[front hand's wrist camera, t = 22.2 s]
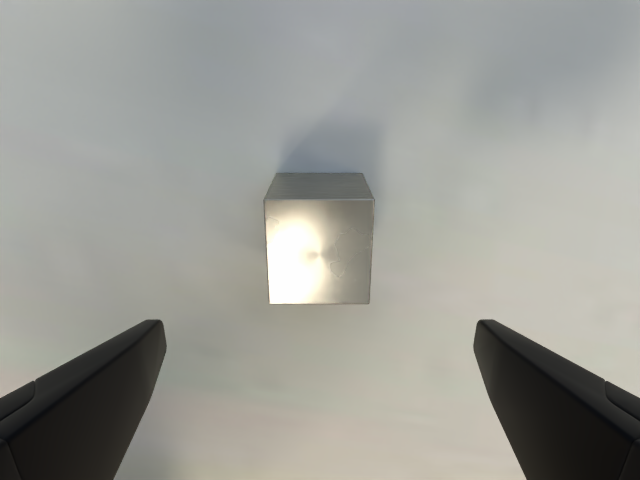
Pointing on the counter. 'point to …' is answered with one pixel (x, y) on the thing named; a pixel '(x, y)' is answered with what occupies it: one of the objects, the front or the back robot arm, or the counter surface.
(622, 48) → the counter surface
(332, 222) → the block
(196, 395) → the counter surface
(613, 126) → the counter surface
